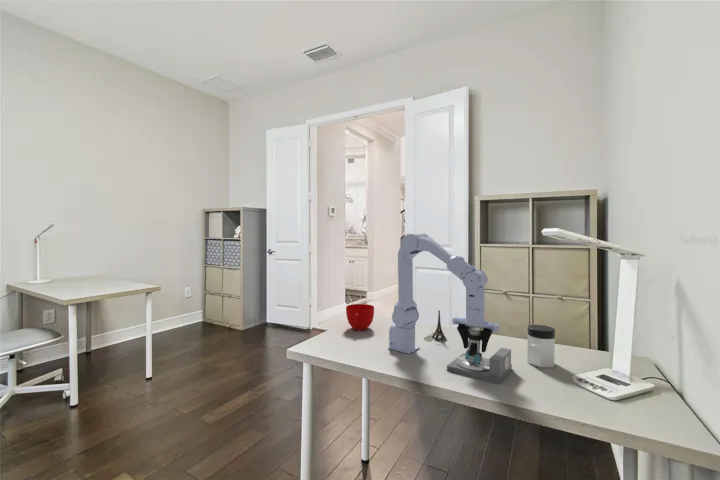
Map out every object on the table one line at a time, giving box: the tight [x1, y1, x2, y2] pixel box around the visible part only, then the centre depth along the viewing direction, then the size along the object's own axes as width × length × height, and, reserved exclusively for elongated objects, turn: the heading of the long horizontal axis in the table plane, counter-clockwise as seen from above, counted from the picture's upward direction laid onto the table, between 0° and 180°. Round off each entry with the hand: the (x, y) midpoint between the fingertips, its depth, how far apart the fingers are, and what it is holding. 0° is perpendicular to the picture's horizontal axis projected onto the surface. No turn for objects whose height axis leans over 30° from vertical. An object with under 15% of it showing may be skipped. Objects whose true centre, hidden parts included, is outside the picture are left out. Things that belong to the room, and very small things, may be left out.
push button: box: [464, 328, 486, 363], centre depth 109 cm, size 7×5×10 cm
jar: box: [526, 324, 556, 369], centre depth 113 cm, size 9×8×12 cm
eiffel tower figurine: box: [423, 310, 448, 346], centre depth 140 cm, size 15×10×13 cm
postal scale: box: [446, 347, 513, 385], centre depth 108 cm, size 16×14×6 cm
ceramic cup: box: [345, 303, 375, 331], centre depth 153 cm, size 13×17×10 cm
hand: (474, 349), depth 109 cm, fingers closed on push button, 5 cm apart
